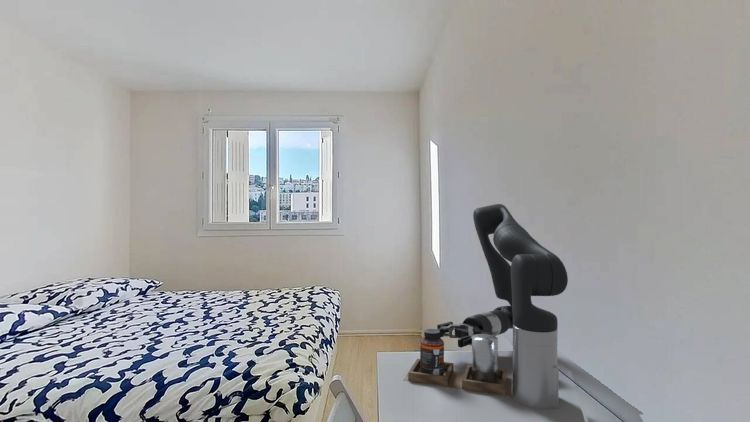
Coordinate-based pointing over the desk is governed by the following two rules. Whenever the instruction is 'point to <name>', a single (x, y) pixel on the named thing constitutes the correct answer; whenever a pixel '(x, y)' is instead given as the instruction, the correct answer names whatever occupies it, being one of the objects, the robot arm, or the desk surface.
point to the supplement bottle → (432, 353)
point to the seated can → (485, 358)
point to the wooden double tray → (460, 380)
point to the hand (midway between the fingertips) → (445, 339)
